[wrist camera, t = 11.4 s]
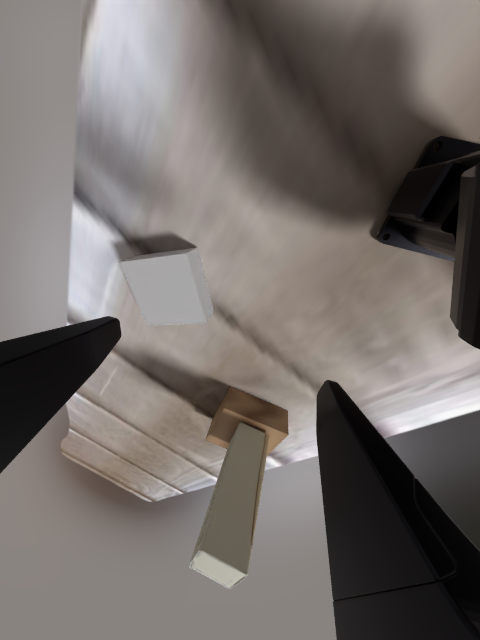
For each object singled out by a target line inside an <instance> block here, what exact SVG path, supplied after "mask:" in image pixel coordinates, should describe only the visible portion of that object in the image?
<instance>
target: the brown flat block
mask: <svg viewBox="0 0 480 640" xmlns="http://www.w3.org/2000/svg"><path fill="white" fill-rule="evenodd" d="M240 422H241V423H244V424H246V425H248V426H250V427H252V428H255V429H257V430H259V431H261V432H263V433H265V434H268V435H269V443H268V450H267V455H268V454H269V453H270V452H271V451H272V450H273V449H274V448H275V447H276V446H277V445H278V444H279V443H280V442H281V441H282V440H283V439H284V438H285V437H286V436H288V411H287V410H285V409H283V408H280V407H278V406H275V405H273V404H271V403H268V402H266V401H264V400H261V399H259V398H256V397H254V396H252V395H249V394H247V393H245V392H242V391H240V390H238V389H235V388H233V387H230V388H229V390H228V392H227V393H226V395H225V397H224V399H223V401H222V402H221V404H220V406H219V408H218V410H217V412H216V413H215V415H214V417H213V419H212V422H211V425H210V428H209V431H208V434H207V437H206V441H209V442H211V443H214V444H216V445H219V446H221V447H223V448H226V449H228V446H229V444H230V441H231V439H232V437H233V435H234V433H235V431H236V429H237V427H238V425H239V423H240Z"/></svg>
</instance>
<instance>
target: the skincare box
mask: <svg viewBox="0 0 480 640" xmlns="http://www.w3.org/2000/svg"><path fill="white" fill-rule="evenodd" d="M268 443H269V435H268V434H265V433H263V432H261V431H259V430H257V429H255V428H252V427H250V426H248V425H246V424H244V423H241V422H240V423H239V425H238V427H237V429H236V431H235V433H234V435H233V437H232V439H231V441H230V444H229V446H228V449H227V452H226V455H225V458H224V461H223V464H222V467H221V470H220V474H219V477H218V480H217V483H216V486H215V489H214V492H213V495H212V498H211V501H210V504H209V507H208V510H207V513H206V516H205V519H204V522H203V525H202V528H201V532H200V534H199V537H198V540H197V543H196V546H195V549H194V553H193V556H192V559H191V562H190V565H189V568H192V569H194V570H195V571H197V572H199V573H201V574H203V575H205V576H206V577H208V578H210V579H212V580H214V581H215V582H217V583H219V584H221V585H222V586H224V587H226V588H228V589H230V588H233V587H234V586H236V585H237V584H238V583H240V582H241V581H242V580H243V579H245V578H246V577H247V576H248V571H249V564H250V558H251V552H252V545H253V539H254V532H255V526H256V520H257V514H258V513H257V512H258V507H259V501H260V495H261V489H262V482H263V475H264V469H265V463H266V456H267V450H268Z"/></svg>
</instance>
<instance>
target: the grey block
mask: <svg viewBox="0 0 480 640" xmlns="http://www.w3.org/2000/svg"><path fill="white" fill-rule="evenodd" d="M119 263H120V265H121V268H122V270H123V272H124V275H125V277H126V279H127V281H128V284H129V286H130V288H131V290H132V293H133V295H134V297H135V299H136V302H137V304H138V306H139V309H140V311H141V313H142V315H143V318H144V320H145V322H146V324H147V326H151V325H175V324H199V323H206V322H207V321H208V319H209V318H210V316H211V314H212V313H213V307H212V303H211V299H210V295H209V291H208V286H207V282H206V278H205V274H204V270H203V266H202V262H201V258H200V254H199V250H198V247H196V248H189V249H182V250H174V251H167V252H160V253H153V254H146V255H138V256H135V257H132V258H129V259H127V260H124V261H121V262H119Z"/></svg>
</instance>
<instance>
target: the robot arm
mask: <svg viewBox="0 0 480 640" xmlns="http://www.w3.org/2000/svg"><path fill="white" fill-rule="evenodd" d="M435 143H438V145H439V147H438V149H437V150H436V151H435V152H434V151H433V146H434V144H435ZM387 212H388V217H387V219H386V221H385V223H384V225H383V227H382V228H381V230H380V232H379V234H378V236H377V240H378V241H379V242H381V243H383V244H387V245H391V246H395V247H399V248H403V249H407V250H411V251H415V252H419V253H423V254H426V255H430V256H434V257H438V258H442V259H446V260H450V261H454V272H453V285H452V298H451V311H450V318H451V320H452V322H453V323H454V325H455V327H456V328H457V329H458V330H459V333H458V336H459V337H460V338H461V339H463V340H464V341H466V342H467V343H469V344H470V345H472V346H474V347H476V348H478V349H480V144H476V143H472V142H467V141H463V140H458V139H454V138H449V137H445V136H440V137H437V138H435V139H432V140H431V141H430V142H429V143H428V144H427V146H426V147H425V149H424V151H423V153H422V155H421V156H420V158H419V160H418V162H417V164H416V166H415V167H414V169H413V170H411V171H410V172H408V173H407V175H406V177H405V179H404V181H403V183H402V185H401V186H400V188H399V190H398V192H397V194H396V196H395V198H394V200H393V201H392V203H391V205H390V207H389V209H388V211H387ZM386 233H388V237H387V238H386V239H383V236H384V235H385V234H386ZM120 338H121V328H120V321H119V320H118V319H117V318H114V317H110V316H107V317H103V318H98V319H94V320H90V321H86V322H82V323H78V324H73V325H69V326H65V327H61V328H57V329H52V330H48V331H44V332H40V333H36V334H32V335H28V336H23V337H19V338H15V339H11V340H7V341H2V342H0V473H1V472H2V471H3V470H4V469H5V468H6V467H7V466H8V465H9V463H10V462H11V461H12V460H13V459H14V458H15V457H16V456H17V455H18V454H19V453H20V452H21V451H22V449H23V448H24V447H25V446H26V445H27V444H28V443H29V442H30V441H31V440H32V439H33V438H34V437H35V435H36V434H37V433H38V432H39V431H40V430H41V429H42V428H43V427H44V426H45V425H46V424H47V422H48V421H49V420H50V419H51V418H52V417H53V416H54V415H55V414H56V413H57V411H58V410H59V409H60V408H61V407H62V406H63V405H64V404H65V403H66V402H67V401H68V400H69V399H70V398H71V397H72V395H73V394H74V393H75V392H76V391H77V390H78V389H79V388H80V387H81V386H82V385H83V384H84V383H85V381H86V380H87V379H88V378H89V377H90V376H91V375H92V374H93V373H94V372H95V371H96V369H97V368H98V367H99V366H100V365H101V363H102V362H103V361H104V359H105V358H106V357H107V355H108V354H109V353H110V351H111V350H112V349H113V347H114V346H115V345H116V343H117V342H118V341H119V339H120ZM316 432H317V446H318V456H319V465H320V475H321V485H322V494H323V505H324V514H325V525H326V535H327V544H328V554H329V565H330V574H331V583H332V584H331V585H332V594H333V600H334V601H333V607H334V616H335V626H336V636H337V640H480V551H479V549H478V548H477V547H476V546H475V545H474V544H473V543H472V542H471V541H470V539H469V538H468V537H467V536H466V535H465V534H464V533H463V532H462V531H461V529H460V528H459V527H458V526H457V525H456V524H455V523H454V522H453V520H452V519H451V518H450V517H449V516H448V515H447V514H446V512H445V511H444V510H443V509H442V508H441V506H440V505H439V504H438V503H437V502H436V501H435V500H434V498H433V497H432V496H431V495H430V493H429V492H428V491H427V490H426V489H425V488H424V487H423V485H422V484H421V483H420V481H419V480H418V479H417V478H415V476H414V474H413V473H412V472H411V471H410V469H409V468H408V467H407V466H406V465H405V463H404V462H403V461H402V460H401V459H400V457H399V456H398V455H397V454H396V453H395V451H394V450H393V449H392V448H391V447H390V446H389V444H388V443H387V442H386V441H385V439H384V438H383V437H382V436H381V434H380V433H379V432H378V431H377V430H376V428H375V427H374V426H373V425H372V424H371V422H370V421H369V420H368V419H367V418H366V416H365V415H364V414H363V413H362V411H361V410H360V409H359V408H358V407H357V405H356V404H355V403H354V402H353V401H352V399H351V398H350V397H349V396H348V395H347V393H346V392H345V391H344V390H343V389H342V387H341V386H340V385H339V384H338V383H337V382H334V381H331V380H326V381H325V382H324V384H323V385H322V387H321V388H320V390H319V392H318V394H317V422H316Z"/></svg>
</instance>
